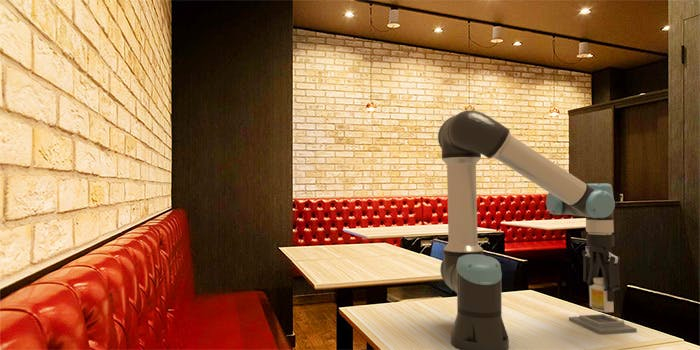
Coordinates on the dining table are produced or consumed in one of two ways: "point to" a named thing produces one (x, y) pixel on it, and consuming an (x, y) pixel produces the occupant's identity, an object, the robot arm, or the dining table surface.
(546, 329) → the dining table surface
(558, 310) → the dining table surface
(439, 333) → the dining table surface
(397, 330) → the dining table surface
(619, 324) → the socket board
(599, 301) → the supplement bottle
